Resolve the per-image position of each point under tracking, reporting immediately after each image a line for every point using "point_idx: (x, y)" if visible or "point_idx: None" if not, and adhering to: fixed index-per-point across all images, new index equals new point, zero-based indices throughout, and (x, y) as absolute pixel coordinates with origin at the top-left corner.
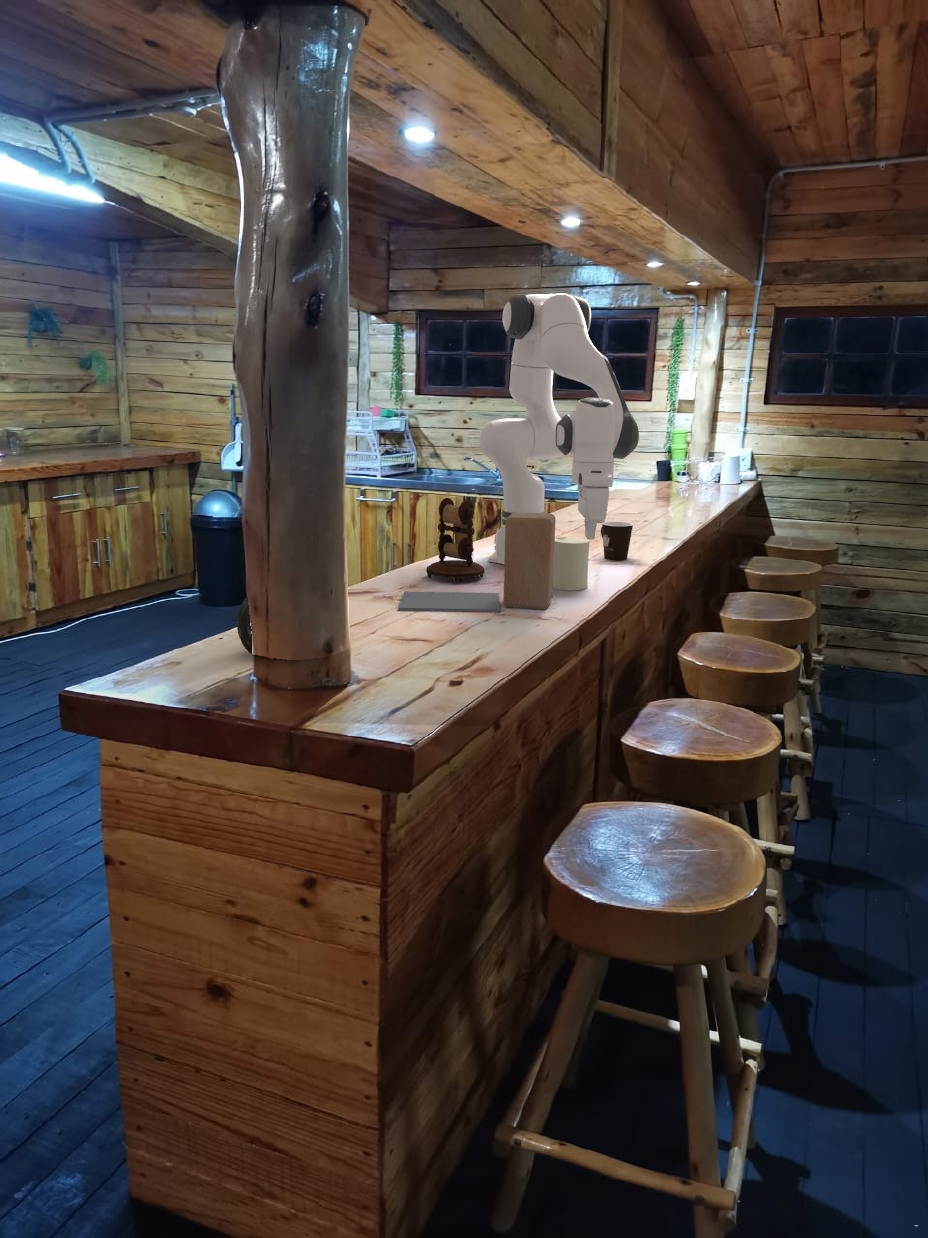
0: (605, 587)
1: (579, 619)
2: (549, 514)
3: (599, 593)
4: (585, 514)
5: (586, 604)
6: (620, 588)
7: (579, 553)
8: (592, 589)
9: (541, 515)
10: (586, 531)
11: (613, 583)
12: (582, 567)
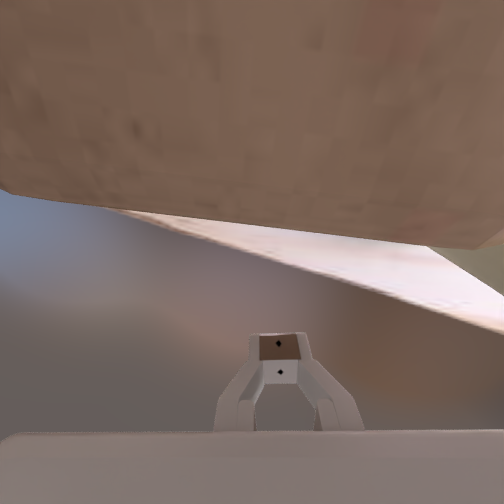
0: (419, 275)
1: (156, 215)
2: (438, 189)
3: (368, 261)
4: (104, 481)
5: (275, 233)
6: (405, 297)
7: (475, 264)
8: (406, 251)
9: (321, 22)
10: (266, 357)
11: (451, 290)
12: (443, 253)
